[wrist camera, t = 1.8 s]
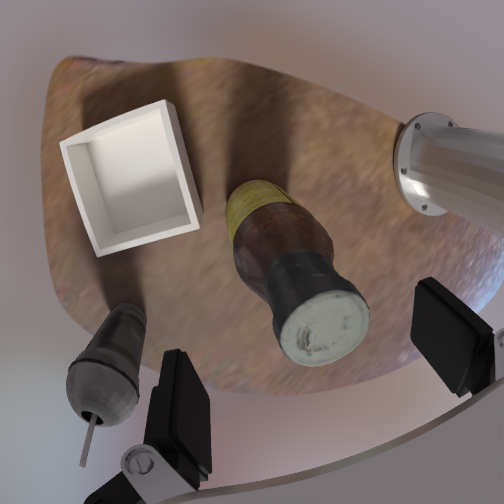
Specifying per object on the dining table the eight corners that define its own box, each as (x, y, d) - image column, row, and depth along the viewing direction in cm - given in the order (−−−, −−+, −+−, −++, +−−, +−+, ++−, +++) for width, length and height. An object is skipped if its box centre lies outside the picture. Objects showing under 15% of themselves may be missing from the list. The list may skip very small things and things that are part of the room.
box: (174, 105, 25) (164, 99, 20) (203, 213, 29) (200, 228, 24) (82, 140, 25) (59, 142, 20) (114, 238, 29) (97, 257, 24)
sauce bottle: (216, 224, 30) (211, 369, 11) (239, 167, 28) (275, 233, 9) (274, 246, 31) (339, 392, 13) (299, 192, 29) (413, 288, 11)
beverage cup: (160, 300, 32) (120, 455, 14) (155, 346, 35) (127, 487, 16) (102, 286, 31) (25, 421, 13) (102, 333, 33) (50, 463, 15)
